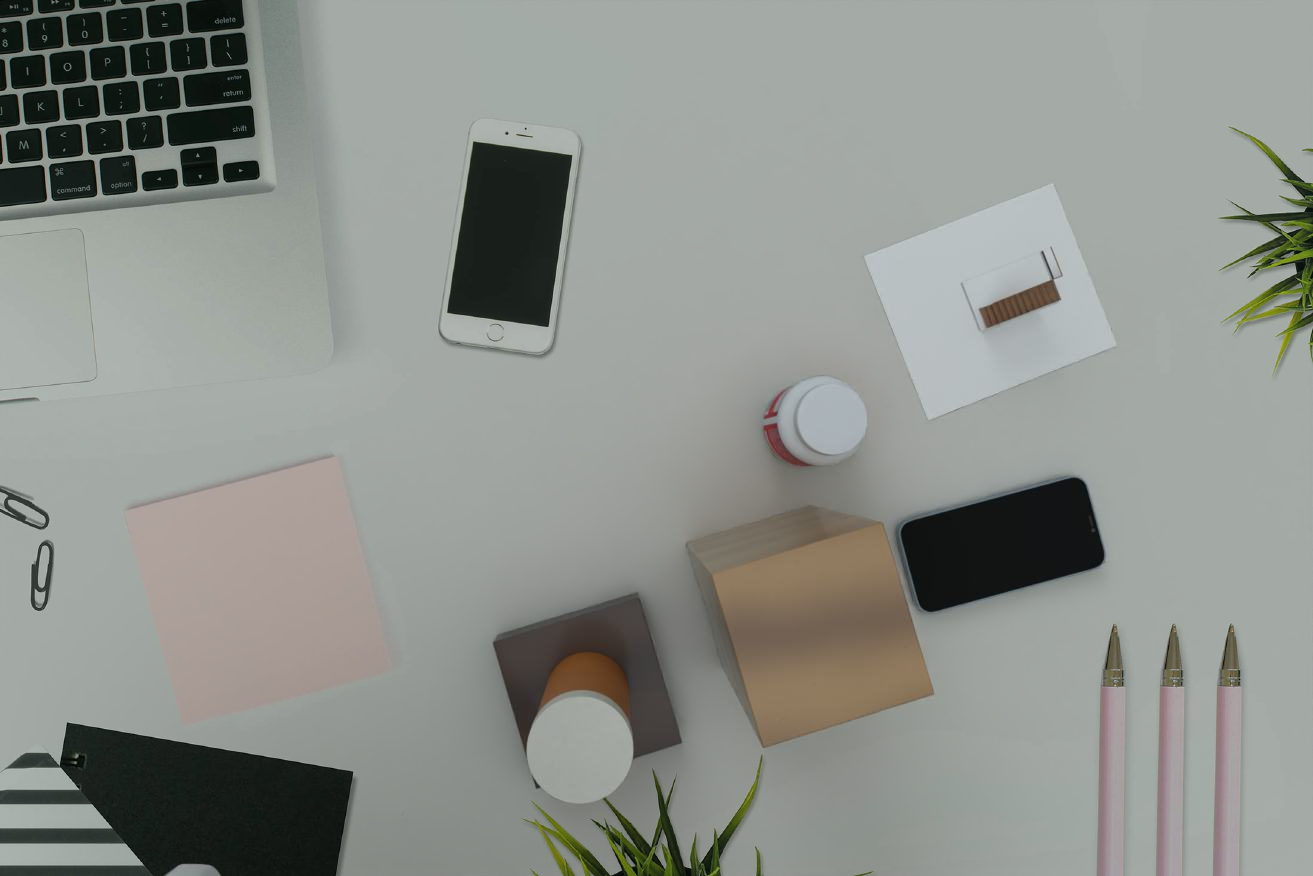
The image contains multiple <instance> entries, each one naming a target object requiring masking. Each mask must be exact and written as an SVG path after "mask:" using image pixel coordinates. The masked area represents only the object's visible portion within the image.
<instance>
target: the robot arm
mask: <svg viewBox="0 0 1313 876" xmlns="http://www.w3.org/2000/svg"><path fill="white" fill-rule="evenodd" d="M163 876H222V875H221V874H220V872H219V871H218V870H217V869H216V868H215V867H214V866H212V865H210V864H204V863H181V864H179V865H176V866H175V867H174V868H172V869H171V870H170V871H168V872H167V873H165V874H164V875H163Z"/></svg>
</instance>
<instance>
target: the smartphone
mask: <svg viewBox="0 0 1313 876" xmlns="http://www.w3.org/2000/svg"><path fill="white" fill-rule="evenodd" d="M895 533H896V534H895V535H896V539H897V543H898V544H897V545H898V547H899V551H900V554H901V559H902V562H903V566H904V570H905V573H906V577H907V580H908V585H909V589H910V592H911V596H912V599H913V602H914V605H915V606H916V607H917V609H919V610H920V611H922V612H924V613H926V614H930V615H931V614H937V613H941V612H944V611H948V610H951V609H955V608H956V609H957V608H959V607H963V606H967V605H970V604H973V603H977V602H982V601H985V600H989V599H992V598H996V597H999V596H1004V595H1007V594H1011V593H1015V592H1018V591H1022V590H1025V589H1029V588H1032V587H1036V586H1040V585H1043V584H1047V583H1051V582H1054V581H1059V580H1063V579H1065V578H1070V577H1073V576H1076V575H1081V574H1085V573H1088V572H1092V571H1095V570H1098V569H1100V568H1101V567H1102V566H1103V565H1104V564H1105V562H1106V558H1107V552H1106V551H1107V550H1106V546H1105V544H1104V540H1103V536H1102V533H1101V528H1100V526H1099V522H1098V517H1097V514H1096V511H1095V507H1094V503H1093V500H1092V496H1091V492H1090V489H1089V486H1088V483H1087V482H1086V480H1085V479H1083V478H1082V477H1081V476H1078V475H1065V476H1062V477H1058V478H1054V479H1050V480H1046V481H1042V482H1038V483H1035V484H1032V485H1031V484H1030V485H1028V486H1024V487H1020V488H1016V489H1013V490H1008V491H1006V492H1001V493H998V494H994V495H991V496H990V495H989V496H987V497H982V498H979V499H975V500H972V501H969V502H965V503H961V504H957V505H954V506H950V507H945V508H942V509H938V510H934V511H931V512H926V513H923V514H919V515H916V516H912V517H908V518H906V519H903V520H902V521H901V522H899V524H898V526H897V528H896V532H895Z"/></svg>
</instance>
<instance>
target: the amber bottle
mask: <svg viewBox="0 0 1313 876" xmlns="http://www.w3.org/2000/svg"><path fill="white" fill-rule="evenodd" d="M633 749H634V747H633V734H632V729H631V721H630V700H629V686H628V682H627V679H626V676H625V674H624V672H623V671H622V669H621V668H620V667H619V665H618V664H617V663H616V662H614V661H613V660H612V659H610V658H609V657H607V656H605V655H603V654H600V653H595V652H580V653H576V654H573V655H571V656H569V657H567V658H565V659H564V660H562V661H561V662H560V663H559V664H558V665H557V666H556V667H555V668H554V670H553V671H552V673H551V675H550V677H549V679H548V682H547V685H546V688H545V692H544V695H543V698H542V701H541V704H540V707H539V711H538V714H537V716H536V718H535V720H534V722H533V724H532V727H531V730H530V733H529V736H528V741H527V757H526V761H527V765H528V767H529V768H528V769H529V771H530V774H531V773H532V774H531V776H532V775H533V777H534V779H535V780H536V782H537V783H538V785H539V786H540V787H541V789H542V790H543V791H544V792H545V793H547V794H548V795H549V796H551V797H553V798H554V799H557V800H559V801H560V802H564V803H567V804H575V805H577V804H579V805H584V804H590V803H595V802H597V801H600V800H602V799H604V798H606V797H608V796H610V795H611V794H612V793H613V792H615V791H616V790H617V789H618V788H619V787H621V786H620V785H622V783H623V782H624V781H625V779H626V777H627V775H628V774H629V772H630V770H631V767H632V764H633V760H634V759H633ZM533 777H532V778H533Z"/></svg>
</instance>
